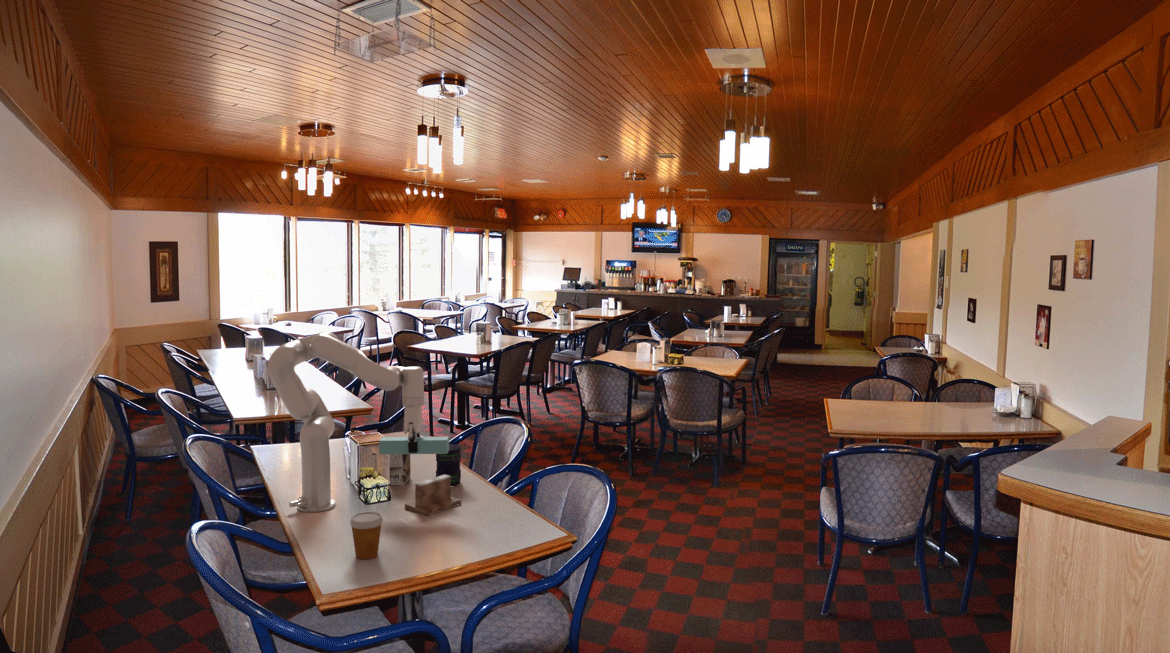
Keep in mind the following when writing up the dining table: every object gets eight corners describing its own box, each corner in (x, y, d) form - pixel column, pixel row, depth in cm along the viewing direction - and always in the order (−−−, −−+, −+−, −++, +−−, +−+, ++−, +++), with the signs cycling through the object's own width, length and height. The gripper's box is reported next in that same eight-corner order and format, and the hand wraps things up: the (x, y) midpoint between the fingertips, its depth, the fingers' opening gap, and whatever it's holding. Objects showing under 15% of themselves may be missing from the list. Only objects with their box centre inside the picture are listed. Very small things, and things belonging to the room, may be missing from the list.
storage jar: (430, 485, 276) (430, 448, 275) (443, 478, 286) (443, 442, 284) (453, 488, 273) (453, 451, 272) (465, 481, 282) (465, 445, 281)
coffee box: (405, 485, 275) (404, 445, 274) (388, 485, 276) (388, 445, 274) (411, 478, 285) (411, 439, 283) (395, 478, 285) (395, 439, 283)
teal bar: (379, 454, 251) (379, 440, 250) (382, 450, 256) (382, 437, 255) (447, 453, 252) (446, 440, 251) (449, 450, 257) (448, 436, 256)
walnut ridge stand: (427, 516, 244) (427, 488, 243) (404, 508, 251) (404, 481, 250) (461, 503, 257) (461, 477, 256) (438, 496, 264) (438, 471, 263)
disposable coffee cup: (386, 548, 216) (386, 511, 215) (378, 562, 206) (378, 522, 205) (355, 548, 215) (355, 510, 214) (345, 562, 206) (345, 522, 205)
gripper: (407, 396, 260) (409, 444, 262) (397, 406, 243) (398, 457, 245) (428, 396, 261) (429, 444, 262) (419, 405, 244) (420, 457, 245)
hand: (414, 449), depth 254 cm, fingers closed on teal bar, 5 cm apart
